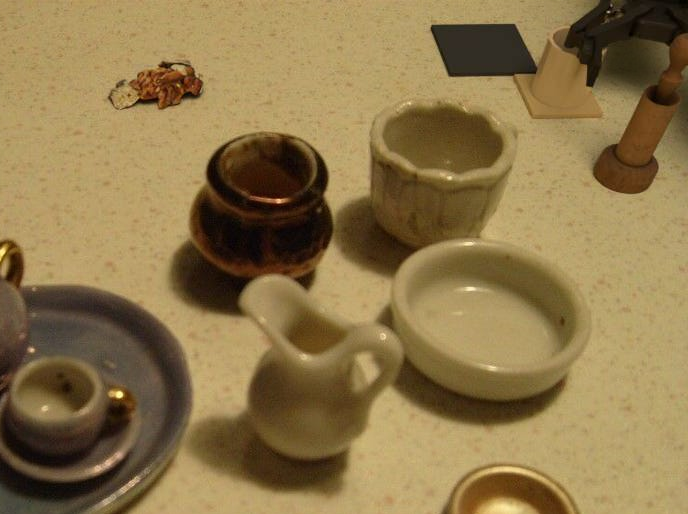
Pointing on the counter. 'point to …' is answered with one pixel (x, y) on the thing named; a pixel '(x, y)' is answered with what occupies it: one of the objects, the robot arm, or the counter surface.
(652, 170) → the mortar and pestle
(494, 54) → the slate mat
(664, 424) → the counter surface
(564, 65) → the cream cup
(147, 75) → the pastry
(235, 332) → the counter surface
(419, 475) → the counter surface
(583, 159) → the counter surface
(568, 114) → the cream mat
